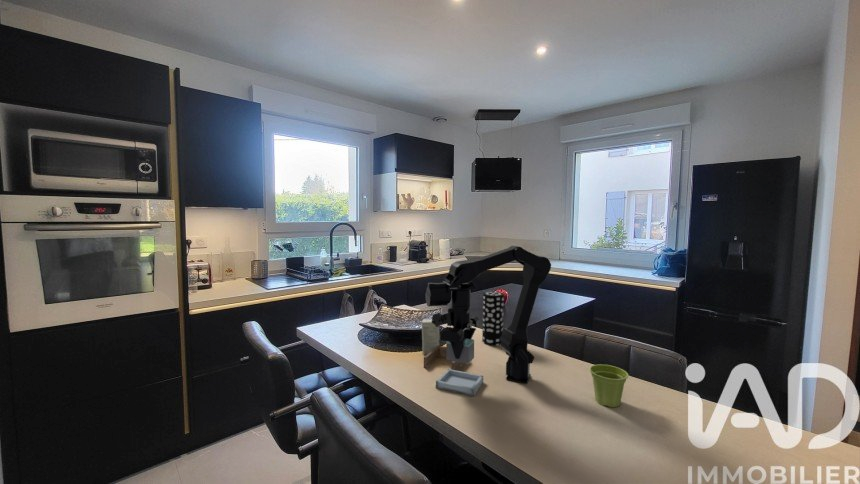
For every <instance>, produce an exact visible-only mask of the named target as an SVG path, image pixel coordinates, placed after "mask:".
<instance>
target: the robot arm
mask: <svg viewBox="0 0 860 484" xmlns="http://www.w3.org/2000/svg"><path fill="white" fill-rule="evenodd" d="M515 261H516V262H517V263H518V264H520V265H521V266H522V275H523V284H522V287H521V291H520V293H519V297H518V301H517V304H516V307H515V311H514V314H513V317H512V321H511V324H510V325H509V326H508V327H503V330H502V335H501V337H500V340H501V343H500V344H501V345H500V346H501V349H502V350H504V352H505V354H506V355H507V356H508V358H507V360H506V362H505V364H506V365H505V375H506V377H505V380H507V381H512V382H517V383H522V384H528V382H529V381H530V378H531V372H530V367H531V366H530V365H531V364H533V362H534V360H535V356H534V355H533V354H532V353H531V352H530V351H529V350H528V343H529V339H528V327H529V323H530V320H531V317H532V313H533V310H534V305H535V302H536V300H537V299H536V298H537V295H538V293H539V290H540V289H539V288H540V287H541V285H542V284H543V283H544V282H545V281H546V279H547V277H548V275H549V273H550V271H551V269H552V263H551V261H550V259H549V258H548V257H546V256H542V255H536V254H534V253H532V252H530V251H528V250H527V249H524V248H523V247H521V246H518V245H511V246H508V247H507V248H504V249H502V250H498V251H496V252H493V253H489V254H487V255H484V256H482V257H479V258H476V259H473V258H472V259H465V260H458V261H454V262H452V264H451V265H450V267H449V270H448V272H447V274H446V276H445V277H444V278H443V280H442V281H441V282H428V283H427V287H426V292H425V294H424V295H425V303H426V306H427V307H442V306H448V305H449V304H451V305H450V307H449V308H448V309H447V311H443V312H437V313H433V314H432V317H431V319H432V323H433V324H434V325H435V326H436V327H438V326H439V327H440V326H443V325H446V327H444V328H443V329H441V331H439V341H445V342H446V341H449V342H450V343H451V346H452V349H453V352H454V355H455V358H456V359H459V358H460V355H461V353H462V350H463V347H464V344H465V341H466V338H467V339H473V336H474V334H475V331H476V330H477V327H479V326H480V318H479V317H478V316H477V315H473V314H471V312H473V309H474V308H473V307H474V306H471V294H472V293H471V290H472V291H473V290H477V289H478V287H477V285H475V283H474V282H473V280H475V279H476V278H478V277H479V276H480V275H481V274H483V273H484V272H486V271H490V270H492V269H495V268H497V267H501V266H503V265H506V264H509V263H511V262H512V263H513V262H515ZM472 325H474V327H472Z"/></svg>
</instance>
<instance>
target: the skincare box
mask: <svg viewBox="0 0 860 484" xmlns="http://www.w3.org/2000/svg"><path fill="white" fill-rule="evenodd" d="M439 333H440V326H438V327H436V326H435V325H434V324H433V323H432V318H431V319H430V318H423V319H422V321H421V340H422V341H421V344H422V345H421V348H422V355H427V354H428V353H430V352H431V351H432V350H433V349H435V348H436V347H437V346H440V339H439Z"/></svg>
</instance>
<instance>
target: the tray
mask: <svg viewBox="0 0 860 484" xmlns="http://www.w3.org/2000/svg"><path fill="white" fill-rule="evenodd" d="M483 383H484V375H481V374H476V373H470V372H467V371H466V372H465V371H460V370H452V369H451V368H448V369H447V370H445V372H443V373H442V375H441V376H440V377H438V378H437V380H436V381H435V388H436V389H440V390H442V391H443V390H444V391H446V392H447V391H448V392H452V393H458V394H461V395H466V396H470V397H475V395H476V393H477V392H478V390H479V389H480V388H481V386H482V385H483Z"/></svg>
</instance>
